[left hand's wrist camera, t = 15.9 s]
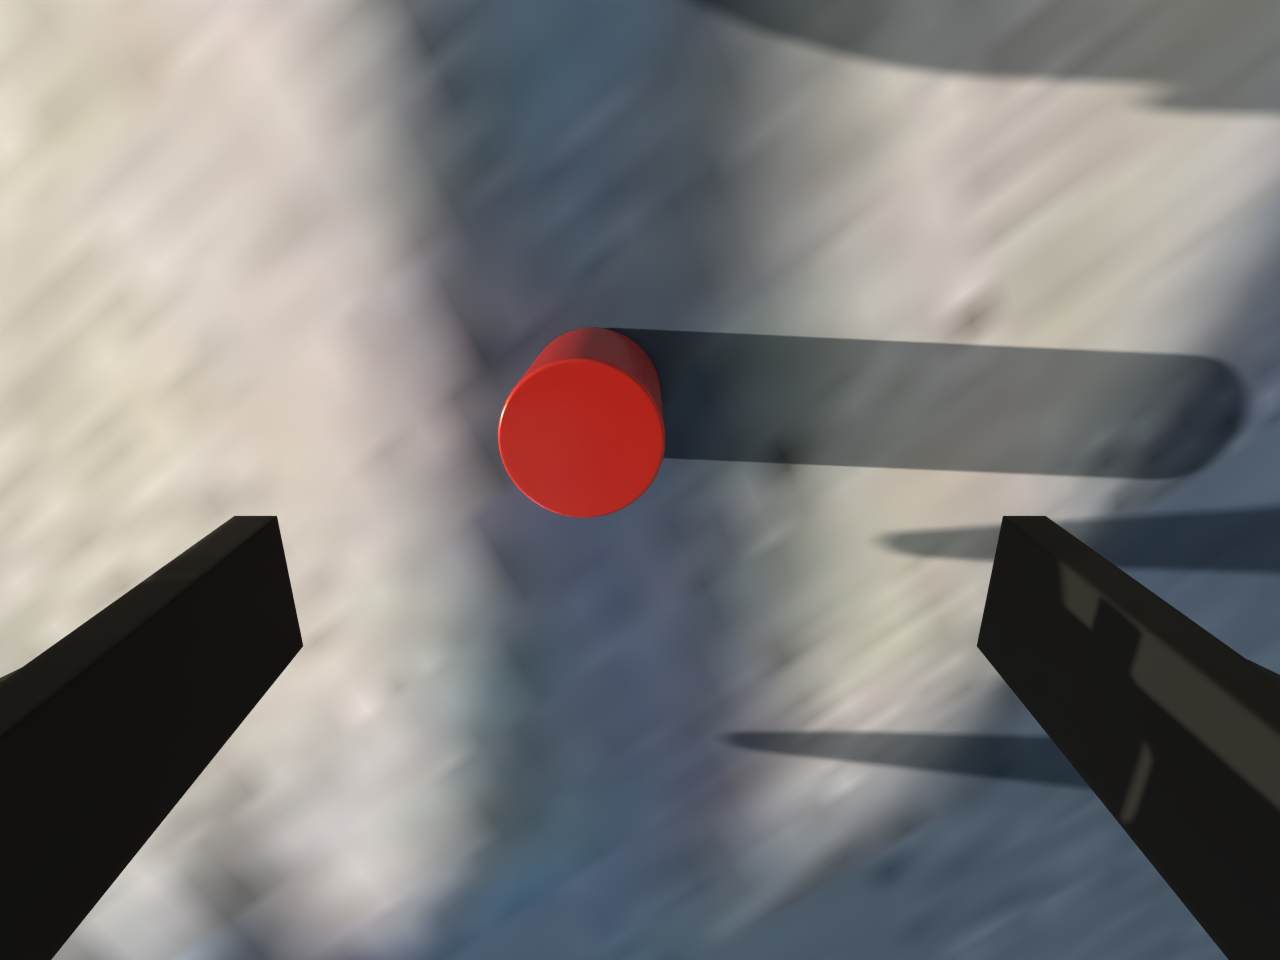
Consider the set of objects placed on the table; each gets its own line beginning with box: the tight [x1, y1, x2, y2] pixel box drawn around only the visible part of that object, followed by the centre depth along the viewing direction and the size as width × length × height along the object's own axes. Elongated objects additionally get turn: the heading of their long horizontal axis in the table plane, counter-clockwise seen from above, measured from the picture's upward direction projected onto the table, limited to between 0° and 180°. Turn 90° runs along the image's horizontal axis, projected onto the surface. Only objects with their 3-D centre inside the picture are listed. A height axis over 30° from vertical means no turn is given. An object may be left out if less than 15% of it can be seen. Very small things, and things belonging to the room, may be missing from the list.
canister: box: [498, 328, 665, 518], centre depth 18 cm, size 4×4×5 cm
